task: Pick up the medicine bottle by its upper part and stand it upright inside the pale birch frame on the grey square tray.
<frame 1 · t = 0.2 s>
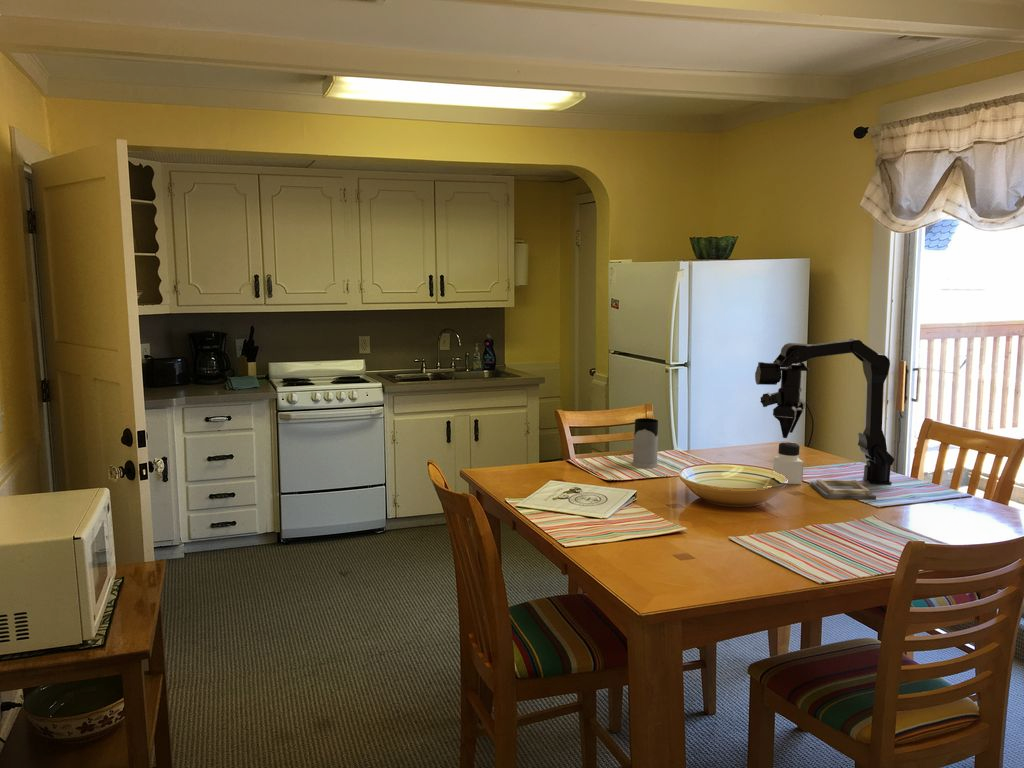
hand: (787, 435, 253), 14 cm above the table, tool pointing down, fingers open, 9 cm apart
grey square tray: (842, 492, 242), on the table
glass holder: (646, 463, 274), on the table
medicine bottle: (786, 481, 253), on the table
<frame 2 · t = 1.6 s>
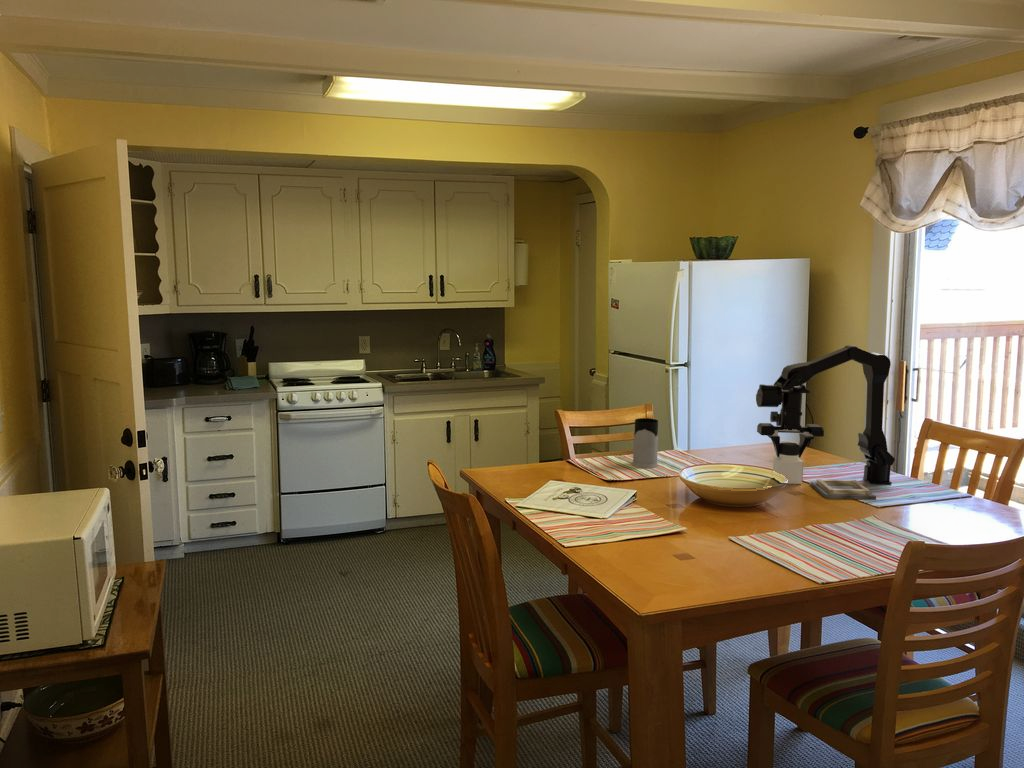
hand: (788, 457, 252), 8 cm above the table, tool pointing down, fingers closed on medicine bottle, 6 cm apart
medicine bottle: (786, 481, 253), on the table, touching gripper
everything else where it was.
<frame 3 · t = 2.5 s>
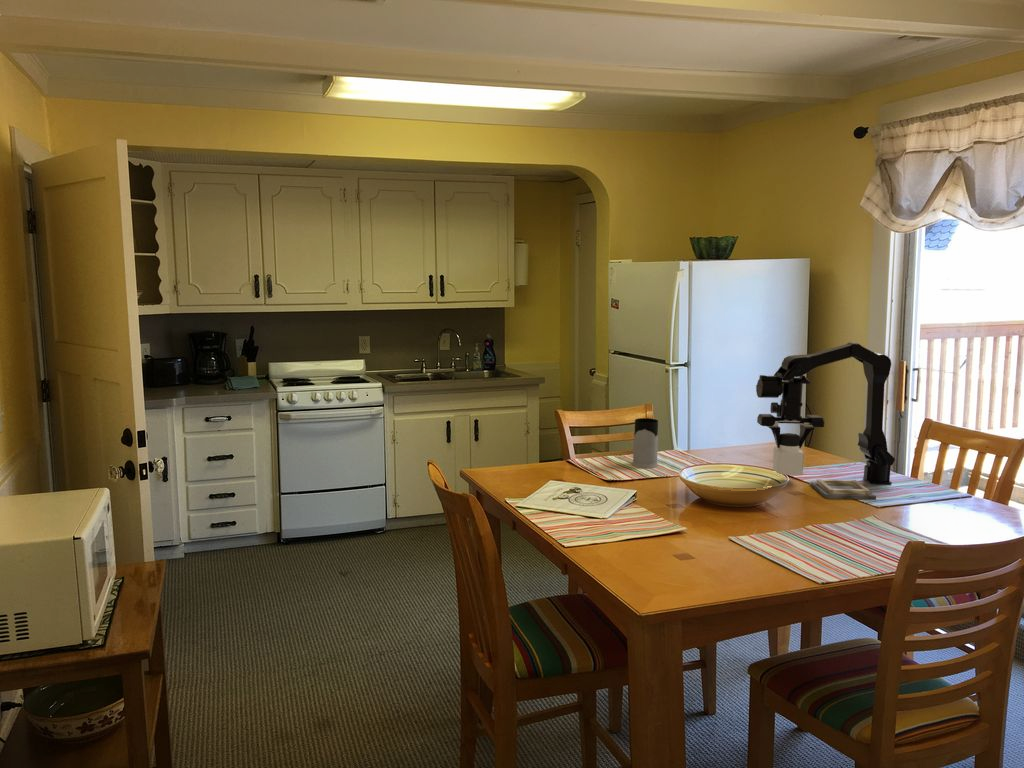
hand: (788, 448, 252), 10 cm above the table, tool pointing down, fingers closed on medicine bottle, 6 cm apart
medicine bottle: (787, 472, 253), point 3 cm above the table, touching gripper
everything else where it was.
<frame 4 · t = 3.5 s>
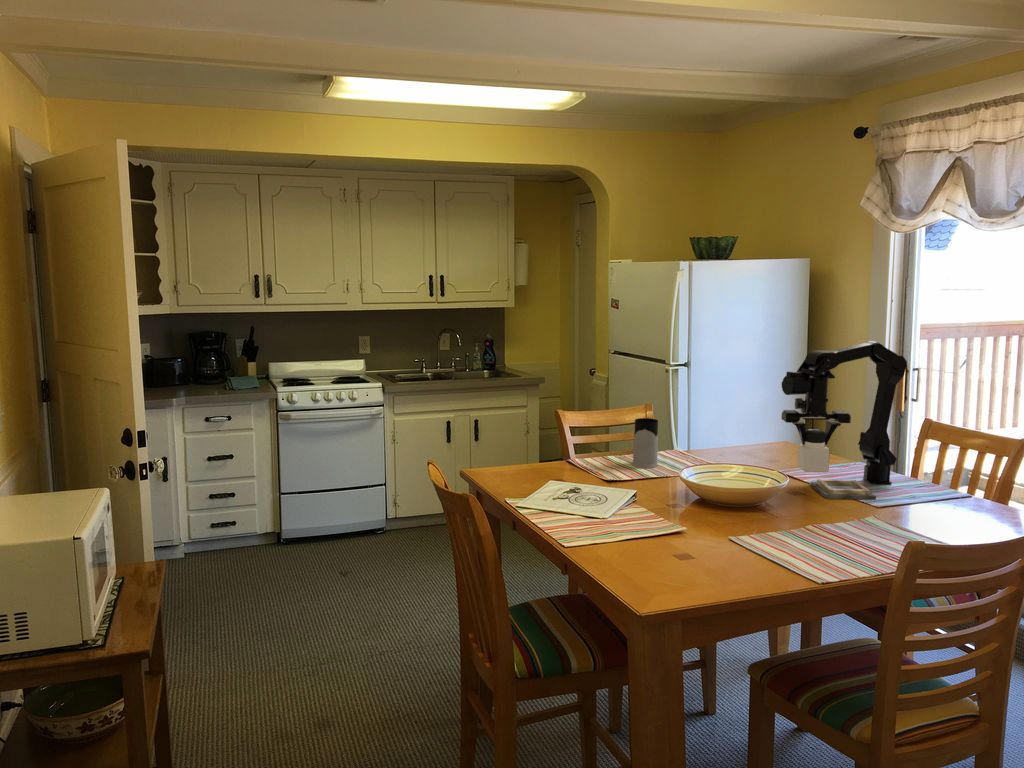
hand: (814, 444, 246), 13 cm above the table, tool pointing down, fingers closed on medicine bottle, 6 cm apart
medicine bottle: (812, 470, 247), point 5 cm above the table, touching gripper
everything else where it was.
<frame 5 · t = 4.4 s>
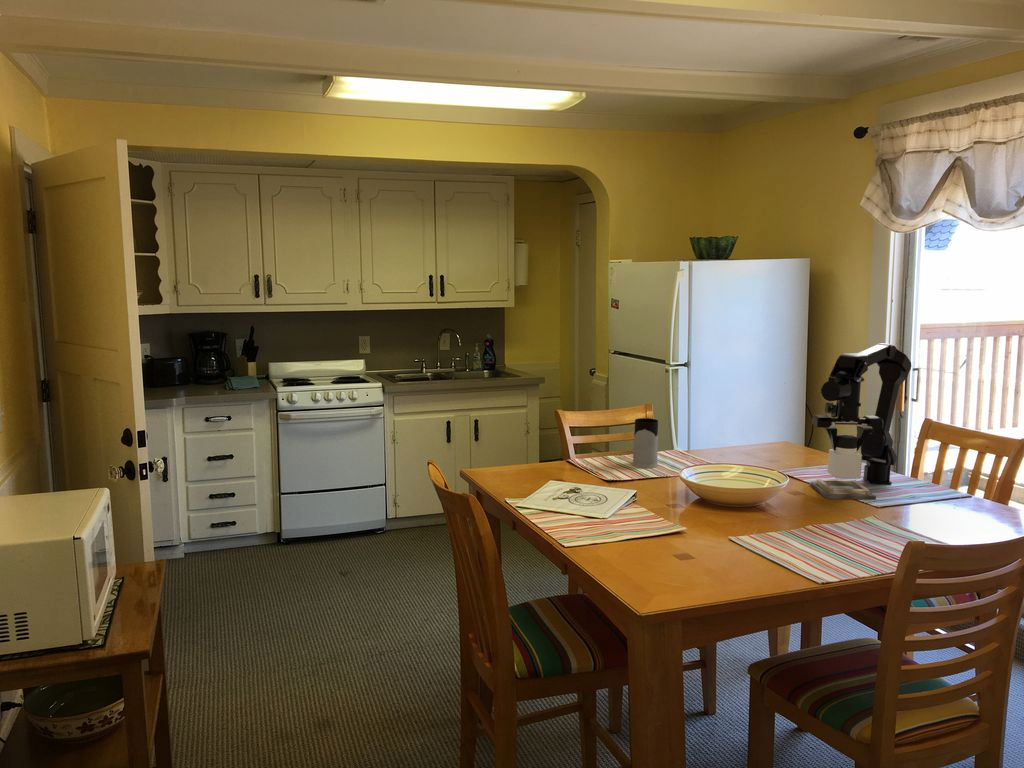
hand: (845, 450, 240), 13 cm above the table, tool pointing down, fingers closed on medicine bottle, 6 cm apart
medicine bottle: (843, 476, 241), point 5 cm above the table, touching gripper
everything else where it was.
when the fingers open (10 cm above the table, at t = 5.4 s): medicine bottle drops 1 cm, resting on grey square tray.
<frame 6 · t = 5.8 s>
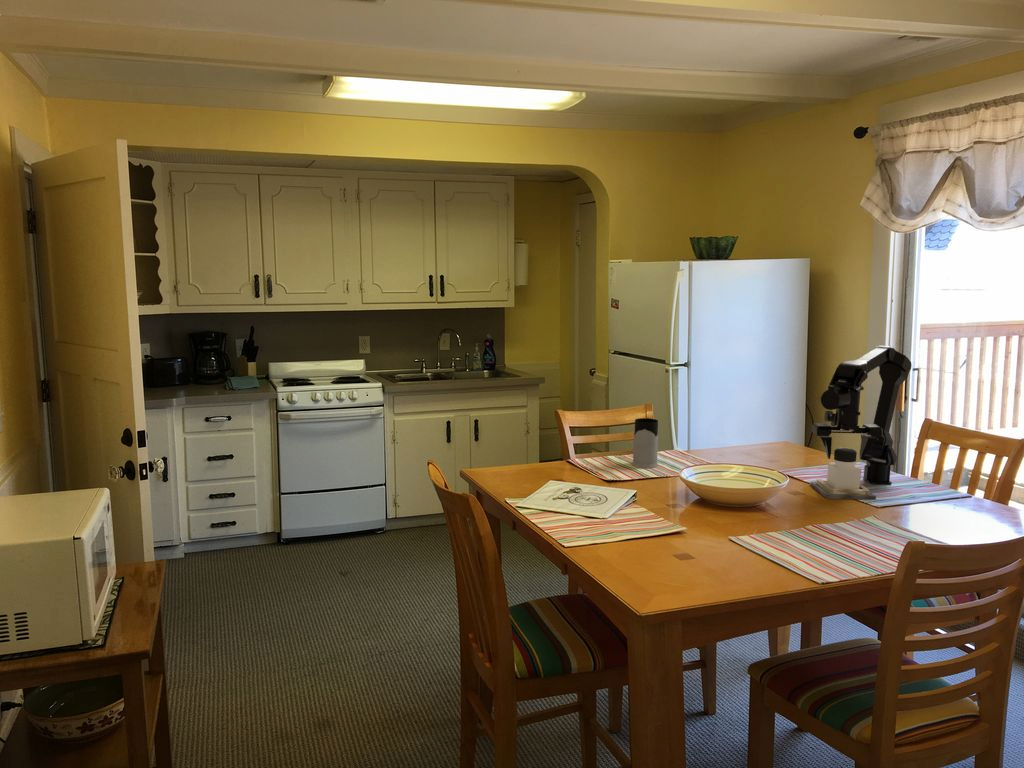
hand: (844, 458, 240), 10 cm above the table, tool pointing down, fingers open, 9 cm apart
medicine bottle: (842, 489, 242), point 1 cm above the table, touching grey square tray
everything else where it was.
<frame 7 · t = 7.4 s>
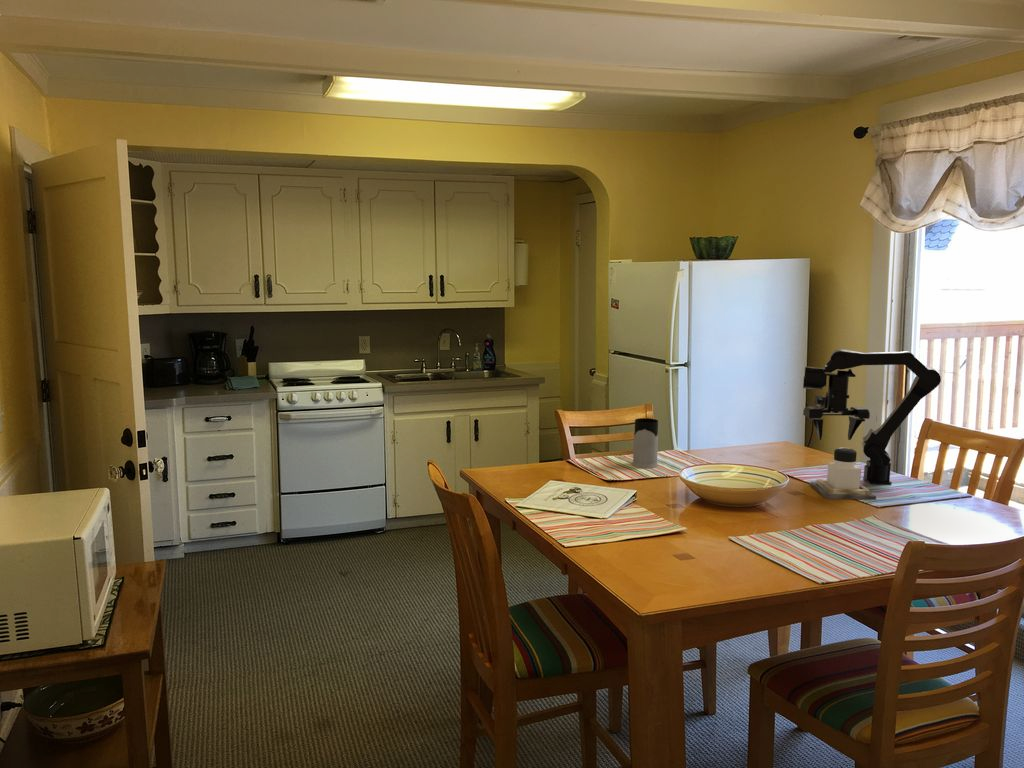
hand: (834, 439, 256), 12 cm above the table, tool pointing down, fingers open, 9 cm apart
nothing on the table moved.
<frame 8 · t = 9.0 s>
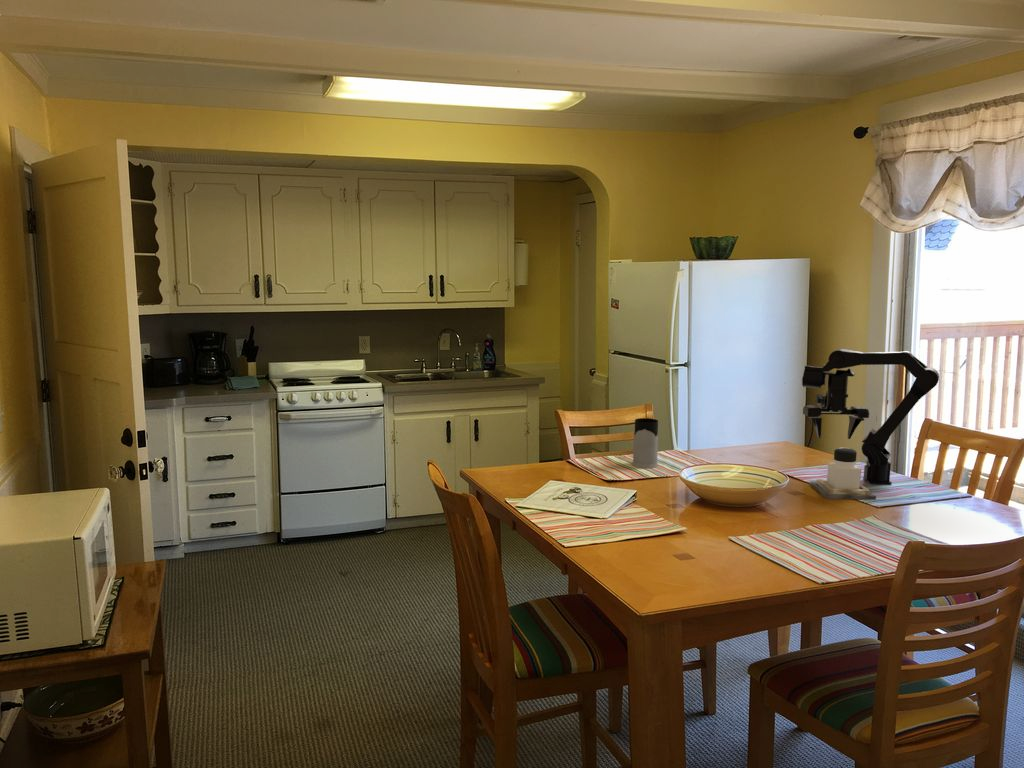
hand: (833, 438, 258), 12 cm above the table, tool pointing down, fingers open, 9 cm apart
nothing on the table moved.
at the end: medicine bottle 0.1 cm off-centre on the grey square tray, point 0.8 cm above the grey square tray's base; medicine bottle tilted 0°; the gripper is holding nothing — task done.
